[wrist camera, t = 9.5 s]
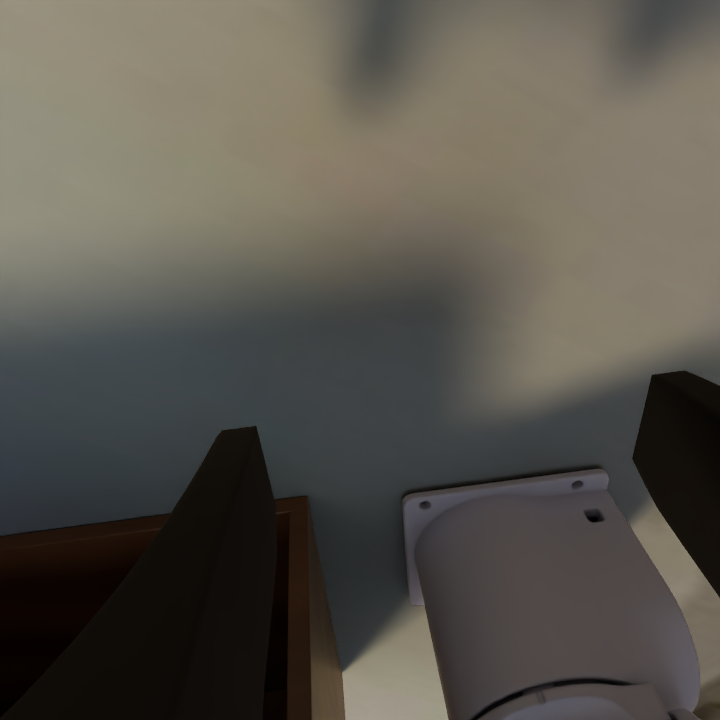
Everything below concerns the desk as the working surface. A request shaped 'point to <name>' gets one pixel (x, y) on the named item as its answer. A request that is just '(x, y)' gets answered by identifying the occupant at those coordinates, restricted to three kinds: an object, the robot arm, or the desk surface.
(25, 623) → the cupboard
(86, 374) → the desk surface
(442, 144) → the desk surface
